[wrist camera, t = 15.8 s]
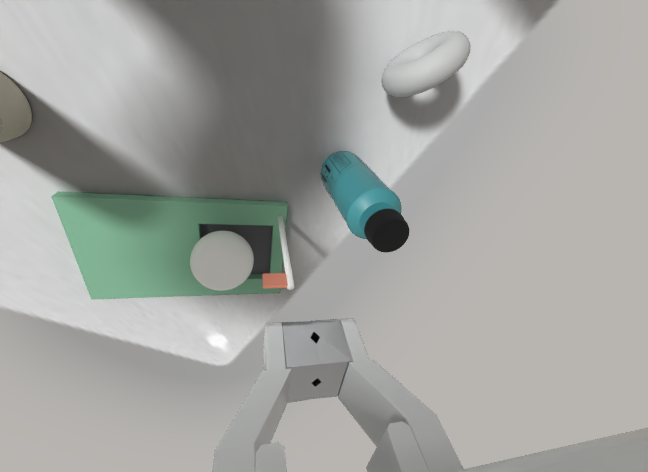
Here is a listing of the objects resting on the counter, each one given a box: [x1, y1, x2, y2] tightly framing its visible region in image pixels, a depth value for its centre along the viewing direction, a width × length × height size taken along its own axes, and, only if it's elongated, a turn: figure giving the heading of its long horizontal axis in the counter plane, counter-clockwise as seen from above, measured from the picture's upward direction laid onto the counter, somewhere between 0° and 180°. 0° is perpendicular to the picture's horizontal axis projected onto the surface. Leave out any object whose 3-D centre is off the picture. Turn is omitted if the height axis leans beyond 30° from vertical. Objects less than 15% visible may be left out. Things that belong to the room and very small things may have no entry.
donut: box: [382, 31, 470, 97], centre depth 33 cm, size 10×4×10 cm, turn 120°
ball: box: [190, 231, 254, 291], centre depth 42 cm, size 9×9×9 cm
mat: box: [52, 192, 295, 299], centre depth 38 cm, size 30×18×18 cm, turn 82°
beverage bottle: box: [321, 151, 409, 252], centre depth 35 cm, size 6×7×20 cm
